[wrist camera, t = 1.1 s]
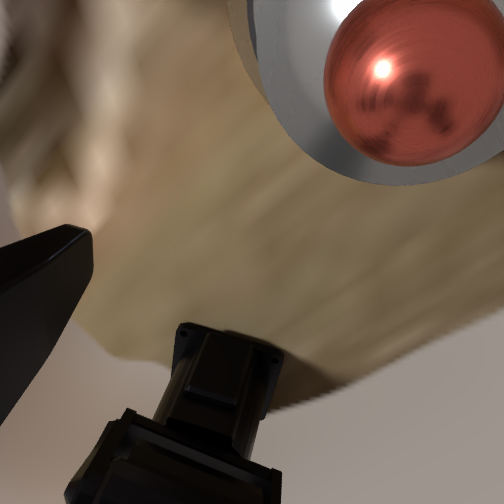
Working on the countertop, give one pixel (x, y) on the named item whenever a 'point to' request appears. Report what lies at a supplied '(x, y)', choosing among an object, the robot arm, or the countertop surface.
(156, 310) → the countertop surface
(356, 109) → the plunger
